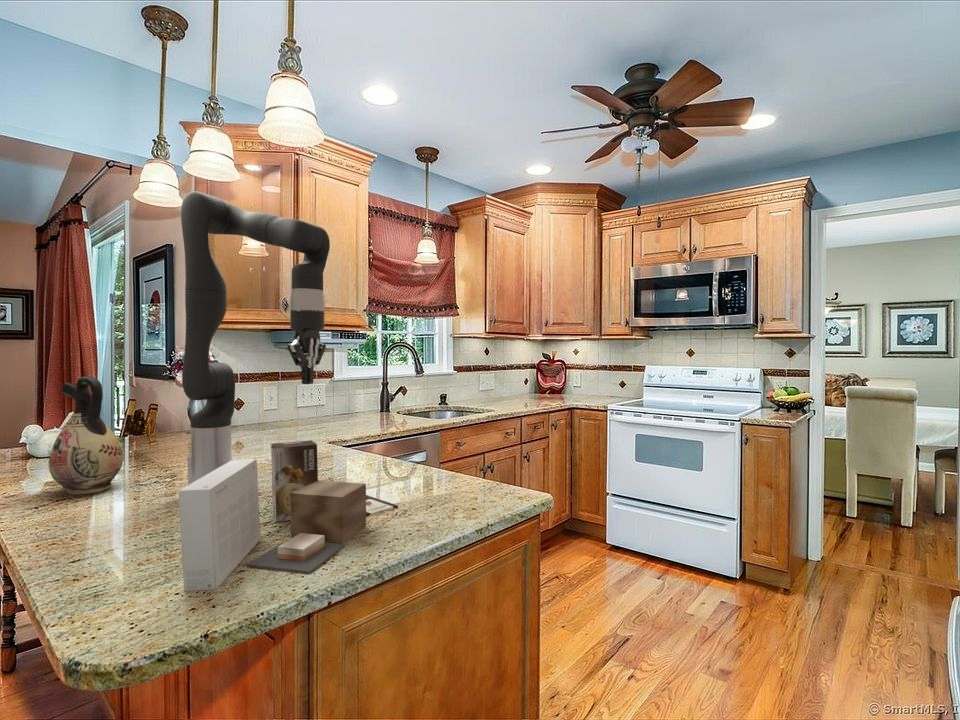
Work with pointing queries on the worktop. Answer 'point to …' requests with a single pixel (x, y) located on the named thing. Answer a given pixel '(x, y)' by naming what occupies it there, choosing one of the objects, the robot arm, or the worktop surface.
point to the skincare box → (218, 523)
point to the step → (329, 510)
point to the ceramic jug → (85, 444)
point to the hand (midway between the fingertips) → (307, 383)
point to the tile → (301, 546)
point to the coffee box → (291, 473)
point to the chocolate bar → (377, 505)
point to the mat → (306, 566)
